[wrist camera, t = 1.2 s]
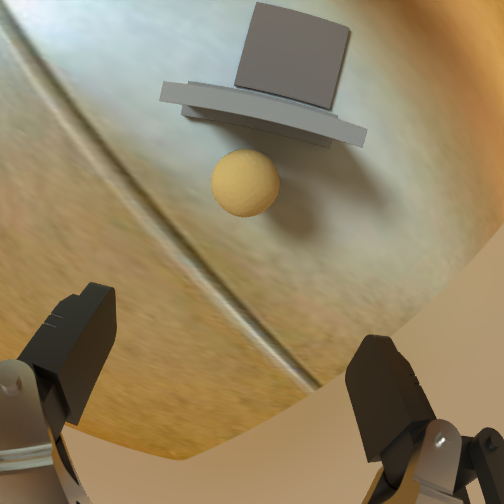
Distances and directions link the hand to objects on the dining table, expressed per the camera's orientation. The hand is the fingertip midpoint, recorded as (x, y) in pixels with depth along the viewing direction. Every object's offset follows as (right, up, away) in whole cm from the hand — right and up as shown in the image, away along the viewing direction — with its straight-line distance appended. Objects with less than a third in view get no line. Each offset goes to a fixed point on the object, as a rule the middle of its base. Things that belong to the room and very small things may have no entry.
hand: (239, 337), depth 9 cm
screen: (+1, +18, +22) cm, 29 cm away
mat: (+5, +25, +19) cm, 32 cm away
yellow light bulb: (0, +12, +25) cm, 28 cm away
